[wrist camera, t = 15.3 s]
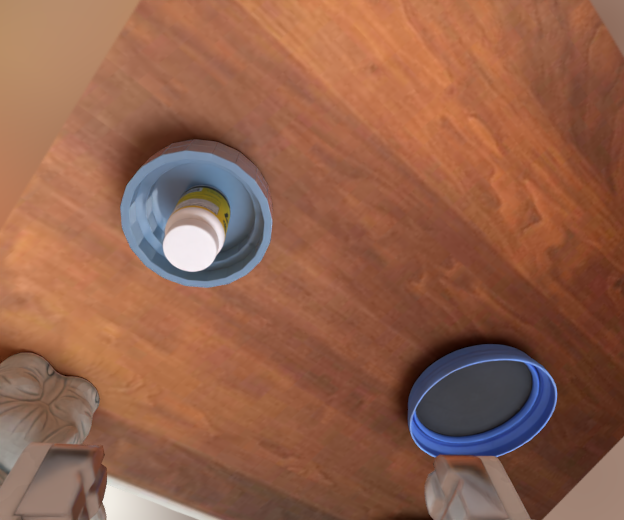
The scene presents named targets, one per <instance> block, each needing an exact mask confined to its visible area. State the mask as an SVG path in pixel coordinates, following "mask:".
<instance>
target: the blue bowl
mask: <svg viewBox="0 0 624 520" xmlns="http://www.w3.org/2000/svg"><path fill="white" fill-rule="evenodd" d="M197 185H208V186H212V187H215V188H217V189H218V190H220V191H221V192H222V193H223V194H224V195H225V196H226V197H227V199H228V201H229V204H230V208H231V214H230V220H229V224H228V228H227V232H226V237H225V241H224V244H223V247H222V249H221V250H220V252H219V253H218V254H217V255H216V257H215V259H214V261H213V262H212V264H211V265H210V266H208V267H207V268H205V269H203V270H200V271H196V272H189V271H184V270H181V269H179V268H177V267H175V266H174V265H172V264H171V263H170V262H169V261H168V259H167V258H166V256H165V254H164V251H163V241H164V238H165V227H166V224H167V221H168V219H169V217H170V216H171V214H172V212H173V210H174V209H175V207H176V205H177V203H178V201H179V199H180V198H181V196H182V195H183V193H184V192H185V191H186V190H188V189H189V188H191V187H193V186H197ZM120 210H121V223H122V229H123V232H124V234H125V236H126V239H127V241H128V243H129V246H130V248H131V249H132V251H133V252H134V253H135V254H136V255H137V256H138V258H139V259H140V260H141V261H142V262H143V263H144V265H146V267H148V268H149V269H151V270H152V271H154V272H155V273H157V274H158V275H160V276H161V277H163V278H165V279H167V280H170V281H173V282H176V283H179V284H182V285H185V286H193V287H206V288H207V287H208V288H209V287H214V286H219V285H225V284H229V283H231V282H233V281H235V280H237V279H239V278H241V277H243V276H245V275H247V274H248V273H249V272H250V271H251V270H252V269H253V268H254V267H255V266H256V265H257V264H258V263H259V262H260V261H261V260H262V258H263V256H264V254H265V252H266V250H267V248H268V246H269V244H270V241H271V231H272V221H273V204H272V200H271V195H270V191H269V187H268V184H267V183H266V181H265V179H264V178H263V176H262V175H261V173H260V171H259V170H258V168H257V167H256V166H255V165H254V164H253V163H252V162H251V161H250V160H248V159H247V158H246V157H245V156H244V155H243V154H242V153H240V152H239V151H237V150H235V149H233V148H230V147H228V146H226V145H224V144H221V143H219V142H215V141H207V140H198V139H195V140H194V139H192V140H187V141H182V142H177V143H172V144H170V145H168V146H167V147H165V148H163V149H161V150H160V151H158V152H156V153H155V154H153V155H152V156H151V157H150V158H149V159H148V160H147V161H146V162H145V163H144V164H143V165H142V166H141V167H140V169H139V170H138V171H137V172H136V174H135V175H134V176H133V177H132V179H131V180H130V181H129V182H128V184H127V185H126V188H125V192H124V195H123V198H122V202H121V205H120Z"/></svg>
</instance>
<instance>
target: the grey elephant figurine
mask: <svg viewBox="0 0 624 520" xmlns="http://www.w3.org/2000/svg"><path fill="white" fill-rule="evenodd" d="M99 403H100V402H99V395H98V392H97V390H96V389H95V387H94V386H93V385H92V384H91V383H90V382H89V381H87V380H85V379H83V378H80V377H74V376H68V377H67V376H64V375H61V374H59V373H58V372H56V371H55V370H54V369H53V368H52V366H51V365H50V364H49V363H48V361H47V360H45V359H44V358H43V357H41V356H39V355H37V354H34V353H18V354H15V355H13V356H10V357H8V358H7V359H6V360H4V361H3V362H2V363H1V364H0V488H1V486H2V484H3V483H4V481H5V479H6V478H7V476H8V474H9V473H10V471H11V470H12V468H13V466H14V465H15V463H16V461H17V460H18V458H19V456H20V455H21V453H22V451H23V450H24V449H25V448H26V447H27V446H28V445H29V444H30V443H31V442H36V443H60V444H80V445H82V443H83V441H84V440H85V438H86V437H87V435H88V434H89V431H90V428H91V425H92V416H93V413H94V412H95V410H96V409H97V408H98V406H99ZM90 520H106V512H105V508H104V506H103V503H102V504H101V507H100V509H99V512H98V513H97V514H96V515H94V516H93V517H92V518H91V519H90Z"/></svg>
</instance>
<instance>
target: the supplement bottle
mask: <svg viewBox="0 0 624 520" xmlns="http://www.w3.org/2000/svg"><path fill="white" fill-rule="evenodd" d="M230 214H231V208H230V204H229V201H228V199H227V197H226V196H225V195H224V194H223V193H222V192H221V191H220V190H218V189H217V188H215V187H212V186H208V185H197V186H193V187H191V188H189V189H188V190H186V191H185V192H184V193H183V195H182V196H181V198H180V199H179V201H178V203H177V205H176V207H175V209H174V210H173V212H172V214H171V216H170V217H169V219H168V221H167V224H166V227H165V238H164V241H163V251H164V254H165V256H166V258H167V259H168V261H169V262H170V263H171V264H172V265H174V266H175V267H177V268H179V269H181V270H184V271H189V272H196V271H200V270H203V269H205V268H207V267H208V266H210V265H211V264H212V262H213V261H214V259H215V257H216V255H217V254H218V253H219V252H220V250H221V249H222V247H223V244H224V241H225V237H226V232H227V228H228V224H229V220H230Z"/></svg>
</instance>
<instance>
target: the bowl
mask: <svg viewBox="0 0 624 520" xmlns="http://www.w3.org/2000/svg"><path fill="white" fill-rule="evenodd" d="M556 401H557V389H556V385H555V382H554V380H553V379H552V377H551V375H550V374H549V373H548V371H547V370H546V369H545V368H544V367H543V366H542V365H541V364H539V363H538V362H537V361H535V360H534V359H532V358H531V357H529V356H528V355H527V354H526V353H524V352H522V351H521V350H518V349H516V348H513V347H510V346H506V345H499V344H482V345H475V346H470V347H466V348H463V349H460V350H457V351H454V352H452V353H450V354H448V355H446V356H444V357H442V358H440V359H439V360H437V361H436V362H434V363H433V364H431V365H430V366H429V367H428V368H427V369H426V370H425V371H424V372H423V373H422V374H421V375H420V376H419V378H418V379H417V380H416V382H415V383H414V385H413V387H412V389H411V392H410V395H409V399H408V427H409V430H410V433H411V436H412V438H413V440H414V442H415V443H416V444H417V446H418V447H419V448H420V449H421V450H423V451H424V452H426V453H427V454H429V455H431V456H433V457H435V458H436V457H437V456H438V455H475V456H496V457H498V456H501V455H504V454H506V453H508V452H511V451H513V450H515V449H517V448H518V447H520V446H522V445H523V444H525V443H526V442H528V441H529V440H531V439H532V438H533V437H534V436H535V435H536V434H538V433H539V432H540V431H541V429H542V428H543V427H544V426H545V425H546V423H547V422H548V420H549V419H550V417H551V415H552V413H553V411H554V409H555V405H556Z"/></svg>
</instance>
